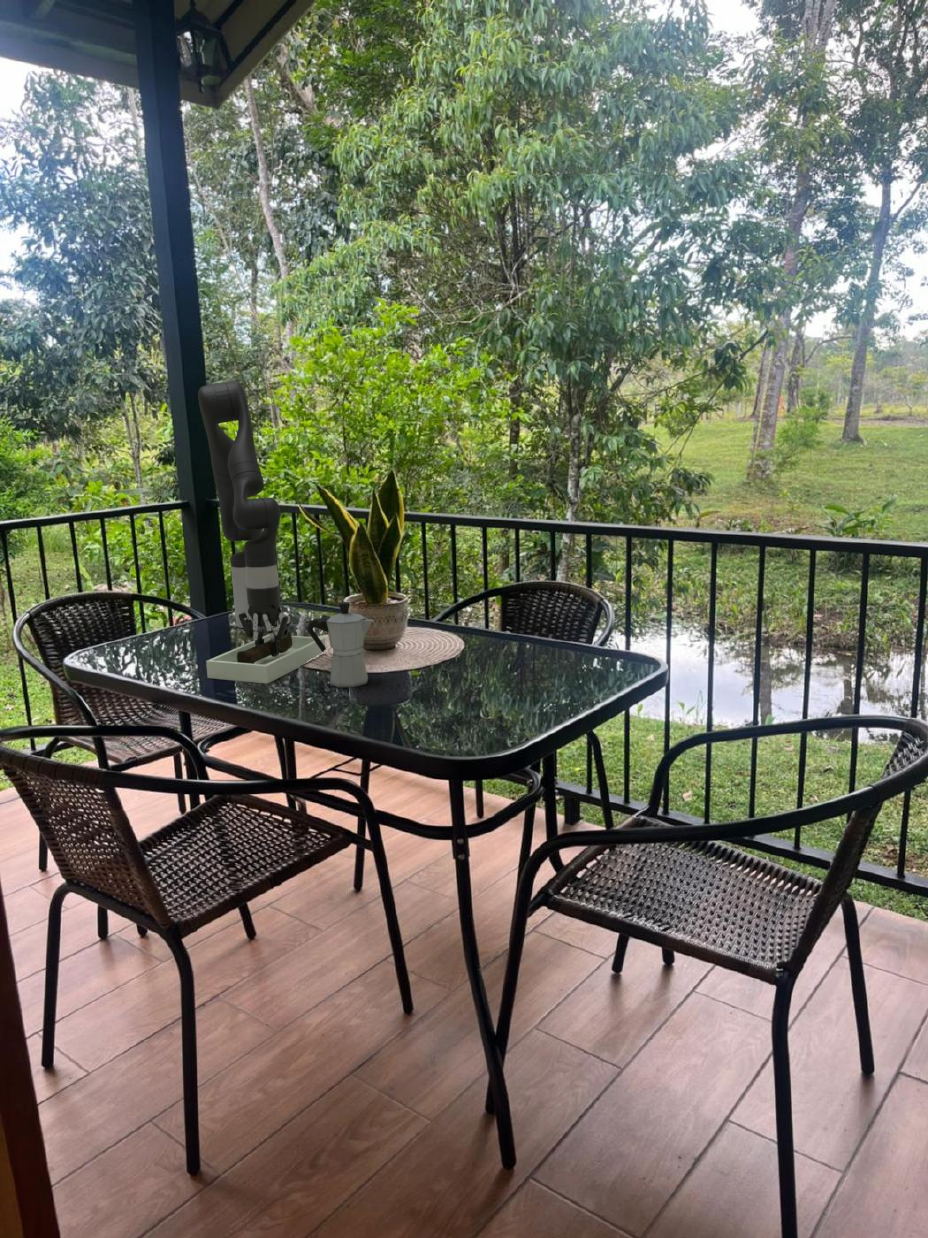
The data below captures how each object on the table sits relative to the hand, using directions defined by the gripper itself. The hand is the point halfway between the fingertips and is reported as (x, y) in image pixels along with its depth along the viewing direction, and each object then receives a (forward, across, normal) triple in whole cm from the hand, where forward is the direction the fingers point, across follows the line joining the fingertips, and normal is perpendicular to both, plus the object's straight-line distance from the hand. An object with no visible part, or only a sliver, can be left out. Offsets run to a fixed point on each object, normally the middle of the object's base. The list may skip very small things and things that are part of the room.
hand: (268, 655), depth 221 cm
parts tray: (+3, 0, 0) cm, 3 cm away
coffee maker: (+3, -24, +7) cm, 25 cm away
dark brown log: (+1, 0, 0) cm, 1 cm away
